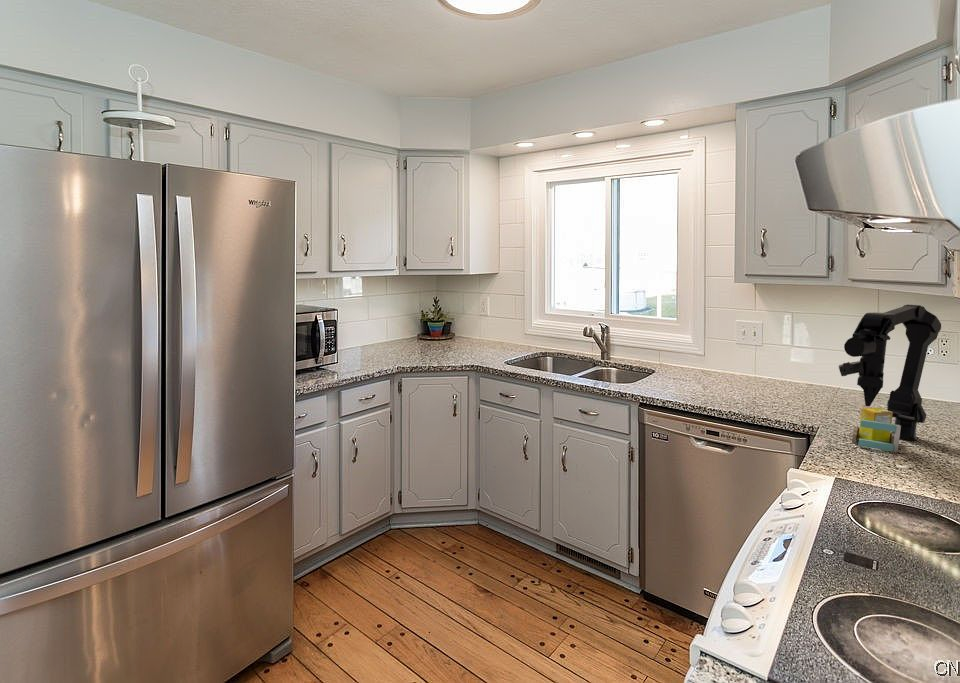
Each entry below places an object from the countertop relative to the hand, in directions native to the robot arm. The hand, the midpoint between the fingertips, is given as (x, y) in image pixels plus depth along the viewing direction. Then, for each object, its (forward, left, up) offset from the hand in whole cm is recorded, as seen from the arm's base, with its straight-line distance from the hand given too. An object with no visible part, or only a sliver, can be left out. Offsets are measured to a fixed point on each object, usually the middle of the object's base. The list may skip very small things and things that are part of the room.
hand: (867, 405), depth 173 cm
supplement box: (-5, +3, -13) cm, 14 cm away
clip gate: (+2, +4, -13) cm, 13 cm away
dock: (-5, +3, -13) cm, 14 cm away
